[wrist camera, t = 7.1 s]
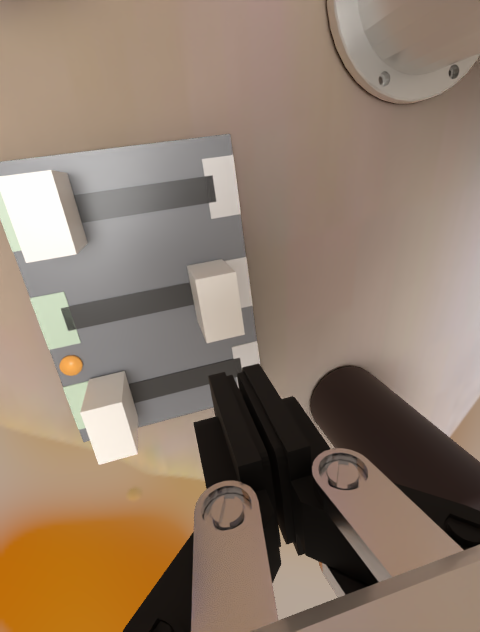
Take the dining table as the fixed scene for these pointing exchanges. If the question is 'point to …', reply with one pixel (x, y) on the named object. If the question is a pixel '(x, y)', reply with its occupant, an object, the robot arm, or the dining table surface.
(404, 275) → the dining table surface
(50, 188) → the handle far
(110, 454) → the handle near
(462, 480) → the bottle
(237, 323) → the handle
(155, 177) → the breaker panel
